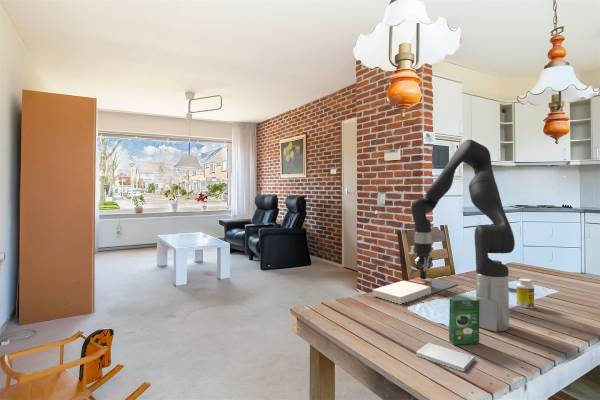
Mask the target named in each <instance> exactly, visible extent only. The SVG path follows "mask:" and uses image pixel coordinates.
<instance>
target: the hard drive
mask: <svg viewBox="0 0 600 400" xmlns="http://www.w3.org/2000/svg"><path fill="white" fill-rule="evenodd" d="M415 356H416V357H418V356H419V358H421V357H422V359H424V358H425V359H424V360H427V361H431V362H433V363H436V362H437V363H436V364H439V363H440V364H439V365H441V364H442V366H444V365H446V366H445V367H447V366H448V368H450V367H451V368H450V369H453V368H454V370H456V369H457V370H456V371H459V370H461V371H460V372H462V371H465V370H466V369H469V367H471V365H472V364H473V363H474V362H475V361H474V360H476V357H475V356H474V355H473V356H472V355H469V354H466V353H463V352H459V351H456V350H455V349H451V348H446V347H444V346H440V345H437V344H434V343H431V342H427V343H426V344H425V345H424V346H422V347H421V348H419V349H418V350H417V351H416V352H415ZM473 361H474V362H473ZM472 362H473V363H472ZM471 363H472V364H471ZM466 371H467V370H466ZM466 371H465V372H466Z"/></svg>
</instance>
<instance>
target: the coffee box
mask: <svg viewBox="0 0 600 400" xmlns="http://www.w3.org/2000/svg"><path fill="white" fill-rule="evenodd" d="M479 305H480V301H479V300H478V299H476V297H449V315H448V317H449V318H448V320H449V323H448V330H449V331H448V336H449V337H448V341H449V343H451V344H452V345H454V346H455V345H456V346H458V345H459V346H460V345H476V344H480V327H479V307H480V306H479Z"/></svg>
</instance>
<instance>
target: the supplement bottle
mask: <svg viewBox="0 0 600 400" xmlns="http://www.w3.org/2000/svg"><path fill="white" fill-rule="evenodd" d="M532 281H533V280H532V279H530V278H519V279H518V283H516V305H517V306H518V307H521V308H522V309H523V308H524V309H533V308H534V307H535V285H533V284H532V283H533V282H532Z"/></svg>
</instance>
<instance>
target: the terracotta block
mask: <svg viewBox="0 0 600 400" xmlns="http://www.w3.org/2000/svg"><path fill="white" fill-rule="evenodd" d="M407 281H408V282H412V283H416V284H421V285H425V286H430V287H432V280H428V279H421V278H420V277H415V278H412V279H408V280H407Z"/></svg>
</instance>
